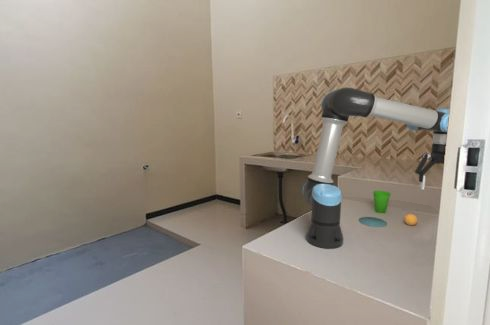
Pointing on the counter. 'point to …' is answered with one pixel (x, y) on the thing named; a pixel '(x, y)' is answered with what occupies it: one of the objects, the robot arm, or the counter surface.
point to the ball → (410, 219)
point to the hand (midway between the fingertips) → (437, 189)
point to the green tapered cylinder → (381, 201)
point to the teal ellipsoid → (372, 221)
